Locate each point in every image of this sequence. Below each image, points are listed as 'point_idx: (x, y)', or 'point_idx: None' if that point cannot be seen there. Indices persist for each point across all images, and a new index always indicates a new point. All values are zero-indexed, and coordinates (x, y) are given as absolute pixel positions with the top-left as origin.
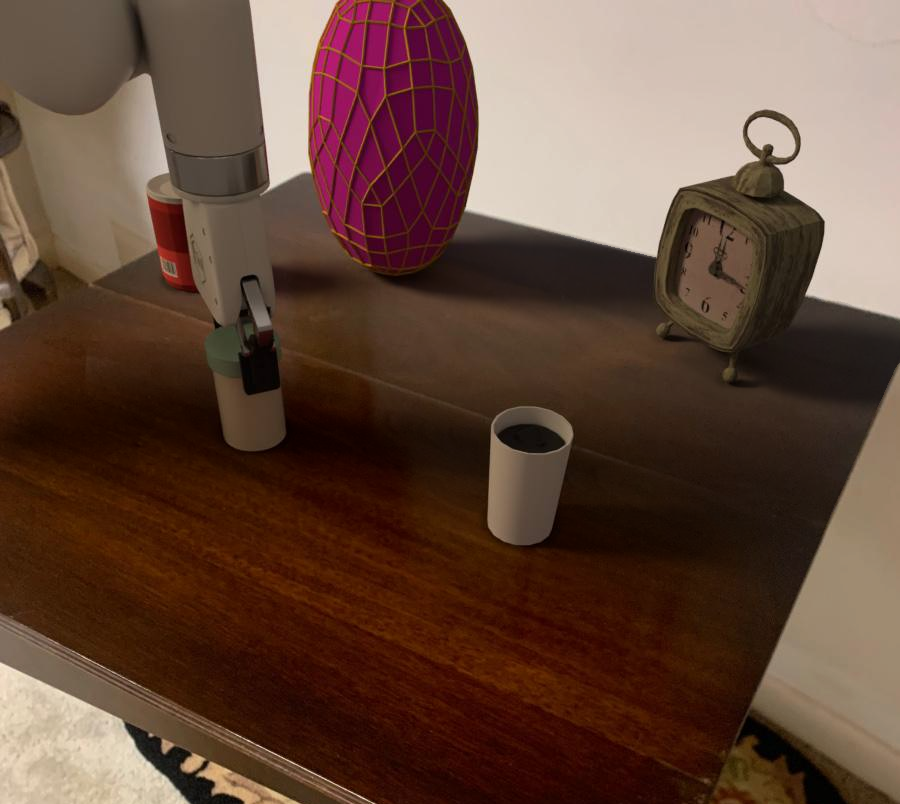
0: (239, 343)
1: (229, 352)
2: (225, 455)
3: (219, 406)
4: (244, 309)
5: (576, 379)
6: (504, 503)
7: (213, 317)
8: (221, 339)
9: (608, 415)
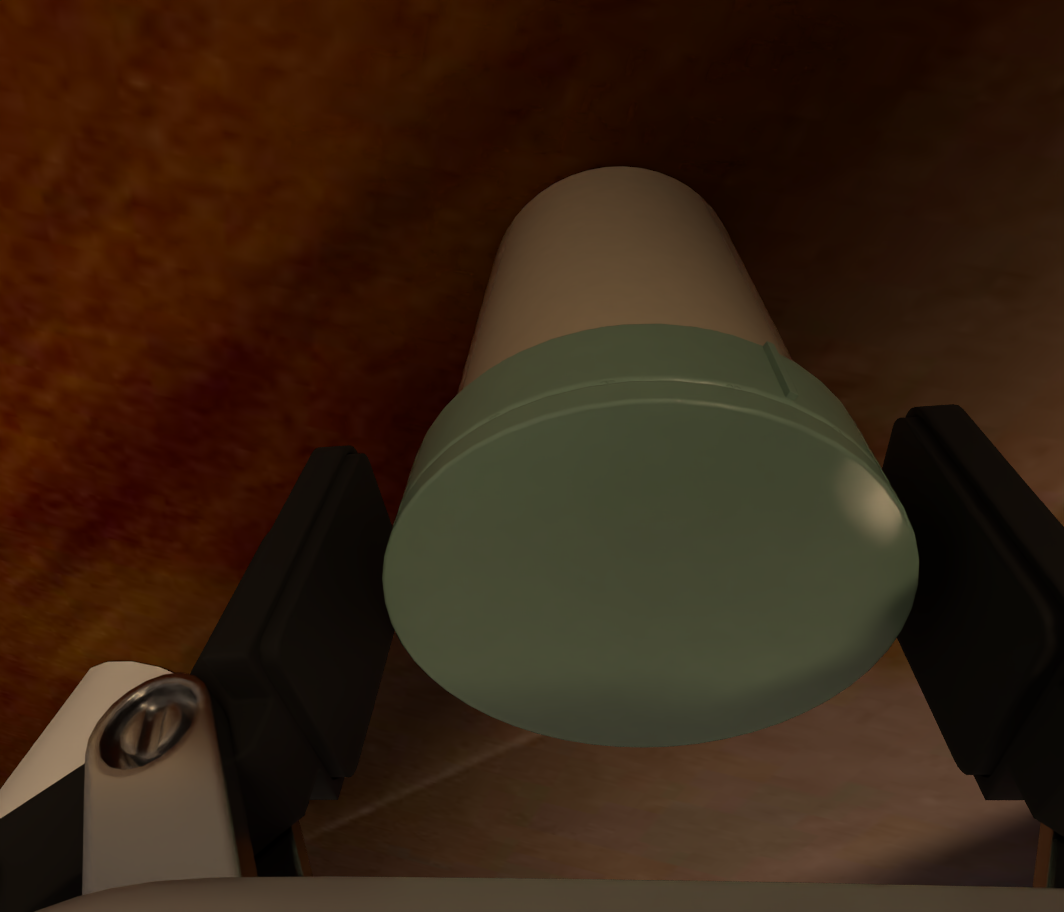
0: (218, 743)
1: (510, 536)
2: (496, 149)
3: (598, 228)
4: (951, 739)
5: (581, 856)
6: (26, 760)
7: (1045, 554)
8: (716, 523)
9: (461, 851)
